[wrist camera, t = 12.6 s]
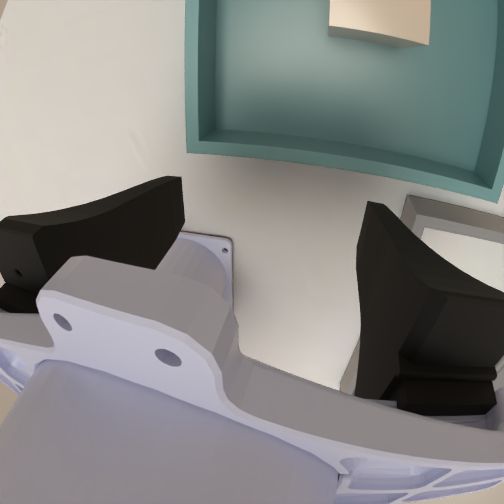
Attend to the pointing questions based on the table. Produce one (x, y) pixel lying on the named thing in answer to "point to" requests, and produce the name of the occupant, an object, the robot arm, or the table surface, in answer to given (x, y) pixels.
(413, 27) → the brown block
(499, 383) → the grey bin lid
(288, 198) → the table surface
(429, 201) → the grey bin
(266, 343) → the table surface
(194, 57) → the teal bin
